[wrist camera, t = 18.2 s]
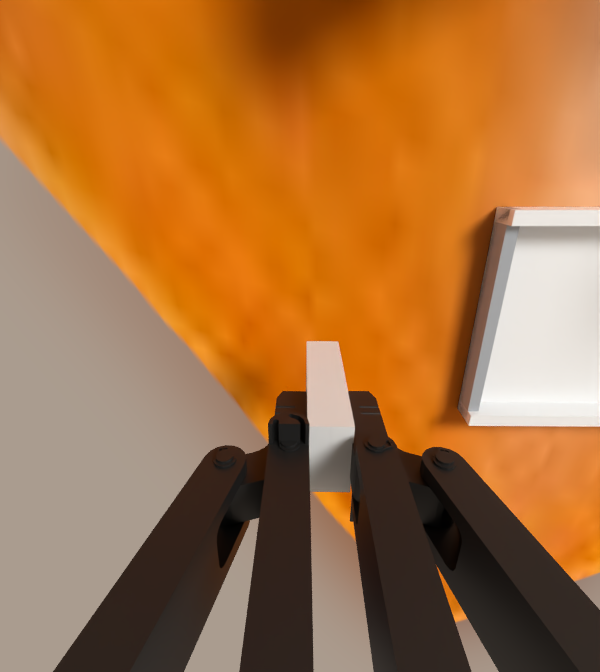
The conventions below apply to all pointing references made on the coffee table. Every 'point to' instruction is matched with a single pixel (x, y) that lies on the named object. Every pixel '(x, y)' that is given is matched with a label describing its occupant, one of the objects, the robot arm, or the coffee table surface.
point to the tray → (537, 322)
